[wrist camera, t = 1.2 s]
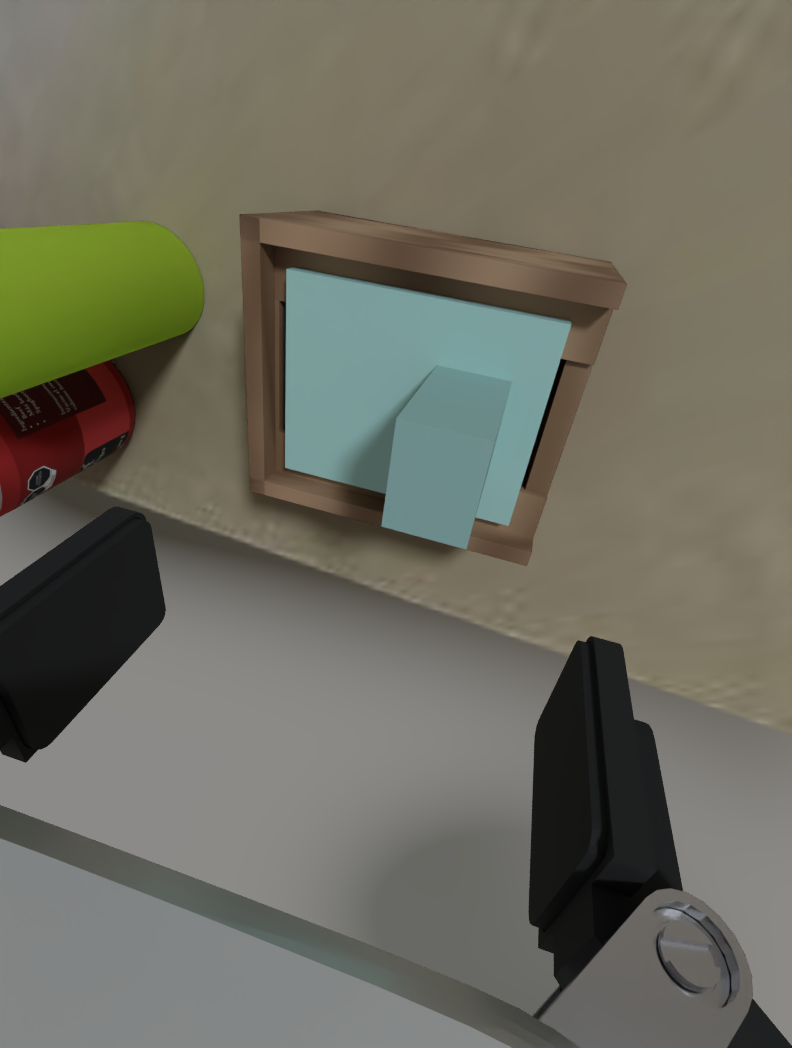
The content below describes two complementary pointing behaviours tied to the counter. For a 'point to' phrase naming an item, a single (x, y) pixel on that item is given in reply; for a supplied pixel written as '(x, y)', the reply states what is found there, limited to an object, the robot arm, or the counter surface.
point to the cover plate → (392, 364)
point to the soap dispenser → (89, 297)
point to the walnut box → (428, 267)
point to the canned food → (61, 430)
